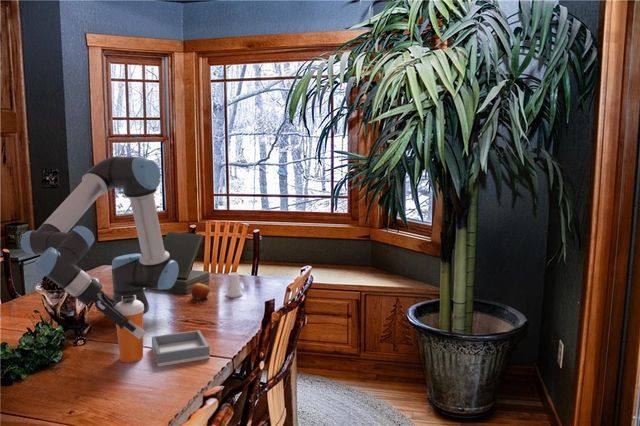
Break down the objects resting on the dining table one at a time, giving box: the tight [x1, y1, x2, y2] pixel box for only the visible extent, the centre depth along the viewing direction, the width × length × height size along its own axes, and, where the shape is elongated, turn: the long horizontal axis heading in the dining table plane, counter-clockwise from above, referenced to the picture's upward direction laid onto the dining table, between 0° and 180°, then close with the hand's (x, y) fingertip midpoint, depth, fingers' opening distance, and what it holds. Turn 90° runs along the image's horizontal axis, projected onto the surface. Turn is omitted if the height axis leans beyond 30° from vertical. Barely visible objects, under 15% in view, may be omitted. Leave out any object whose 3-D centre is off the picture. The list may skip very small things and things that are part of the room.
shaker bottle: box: [114, 295, 144, 363], centre depth 170 cm, size 9×9×20 cm
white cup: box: [225, 271, 243, 299], centre depth 240 cm, size 8×8×10 cm
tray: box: [151, 329, 211, 367], centre depth 175 cm, size 16×16×4 cm
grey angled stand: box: [144, 231, 211, 295], centre depth 253 cm, size 23×20×25 cm
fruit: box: [190, 283, 211, 302], centre depth 235 cm, size 8×8×8 cm
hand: (140, 330), depth 172 cm, fingers closed on shaker bottle, 9 cm apart
